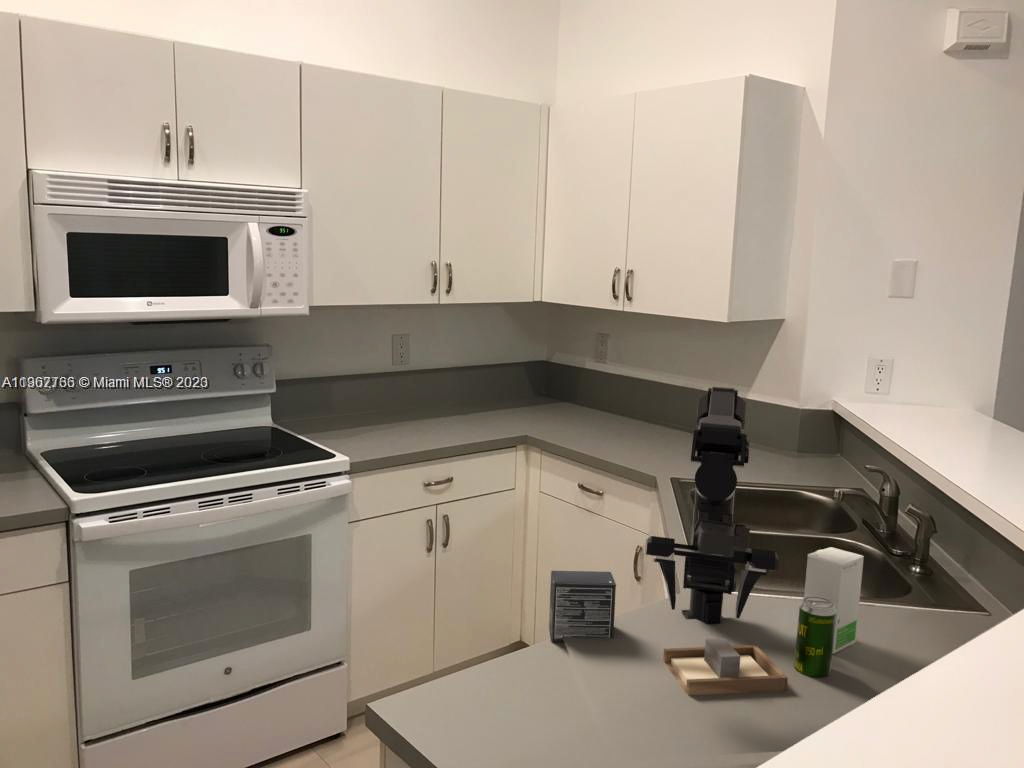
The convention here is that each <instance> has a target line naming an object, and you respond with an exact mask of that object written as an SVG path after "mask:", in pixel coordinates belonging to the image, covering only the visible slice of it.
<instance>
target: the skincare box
mask: <svg viewBox="0 0 1024 768" xmlns="http://www.w3.org/2000/svg"><path fill="white" fill-rule="evenodd" d="M864 557H865V556H864V555H862V554H859V553H855V552H851V551H848V550H843V549H840V548H836V547H833V546H832V547H831V546H830V547H827V548H824V549H818V550H816V551H814V552H810V553H808V554H807V559H806V560H807V561H806V575H805V584H804V593H803V594H804V596H803V598H804V597H808V596H815V597H821V598H825V599H828V600H830V601H832V602H833V603H835V609H836V621H835V631H834V640H833V650H832V655H834V654H837V652H839V651H842V650H844V649H845V648H847V647H849V646H851V645H854V644H855V643H856V641H857V630H858V619H859V610H860V601H861V590H862V589H861V588H862V579H863V570H864V569H863V568H864Z"/></svg>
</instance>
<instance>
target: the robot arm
mask: <svg viewBox="0 0 1024 768" xmlns="http://www.w3.org/2000/svg"><path fill="white" fill-rule="evenodd" d="M738 394H739V390H738V389H735V388H734V387H722V386H720V387H719V386H712V387H708V391H707V393H706V394H704V395H703V396H701V397H699V398H697V399H698V400H697V410H696V411H697V412H696V427H698V428H693V434H692V435H693V436H692V444H691V453H690V463H693V464H700V466H699V467H698V468H697V469H696V471H695V475H694V486H695V489H694V490H695V491H694V505H693V514H692V526H691V536H690V538H691V539H690V544H684V543H676V539H675V538H671V537H663V536H657V535H651V536H649V537H648V538H646V539H645V544H644V545H645V546H644V555H646V556H652V562H653V563H658V564H659V566H660V570H661V573H662V576H663V578H664V581H665V585H666V590H667V594H668V599H669V604H670V607H671V610H673V611H675V609H676V601H677V596H676V595H677V594H676V592H677V591H676V589H677V588H676V560H673V558H674V557H675V556H680V557H684V558H685V560H684V570H683V585H682V589H689V590H690V596H689V598H690V599H689V608H688V609H683V610H681V614H682V615H683V616H684V617H685V618H686V620H696V621H699V622H700V621H701V623H703V624H705V625H721V623H722V619H724V616H722V614H723V603H724V594H727V595H732V593H734V592H736V589H737V588H736V587H737V581H738V580H737V579H738V568H737V567H736V564H741V565H742V564H743V565H744V569H741V570H740V571H741V572H740V576H739V585H738V590H737V596H736V597H737V598H736V603H735V619H740V618H741V616H742V613H743V611H744V608H745V606H746V604H747V601H748V598H749V596H750V594H751V592H752V590H753V588H754V587H755V585H756V583H757V582H758V580H760V578H761V577H768V575H769V572H767V571H771V572H772V571H775V572H778V571H779V562H780V561H779V560H780V559H779V555H778V554H777V552H776V551H774V550H767V549H759V548H749V545H750V535H751V534H750V532H751V526H750V525H748V524H741V523H735V524H734V525H733V522H734V521H733V520H734V519H733V518H734V508H735V507H734V505H735V494H736V493H735V492H736V488H737V484H738V476H737V473H736V471H735V469H734V467H735V468H744V467H745V464H749V459H750V440H749V439H748V437H747V436H748V435H747V434H746V432H742V431H745V426H746V416H747V415H746V413H747V402H746V401H745V400H744V399H742V398H741V397H740V396H739V395H738ZM735 549H736V550H735ZM738 550H739V551H738ZM740 550H741V551H740ZM742 550H744V551H742Z"/></svg>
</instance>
